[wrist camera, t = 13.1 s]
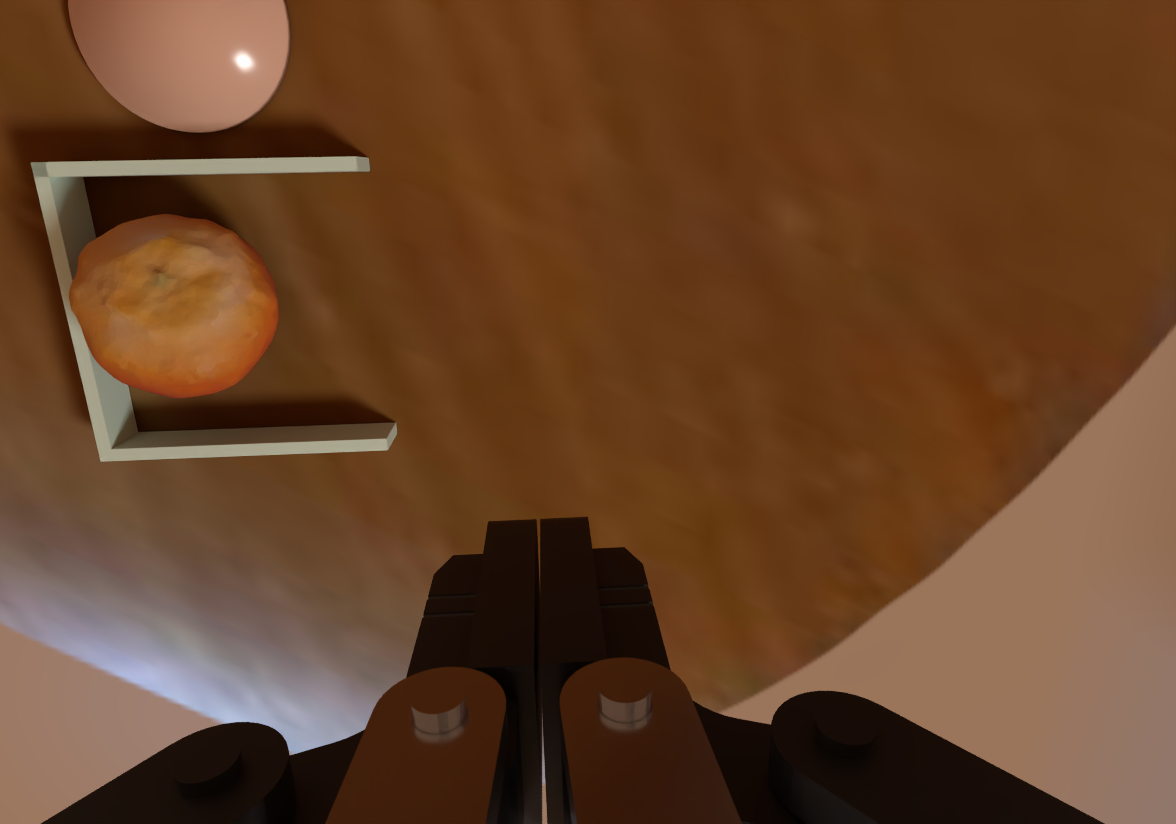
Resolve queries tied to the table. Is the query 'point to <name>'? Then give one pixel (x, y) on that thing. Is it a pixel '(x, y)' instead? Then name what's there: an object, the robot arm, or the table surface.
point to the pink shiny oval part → (186, 57)
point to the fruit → (174, 305)
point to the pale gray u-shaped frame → (112, 398)
